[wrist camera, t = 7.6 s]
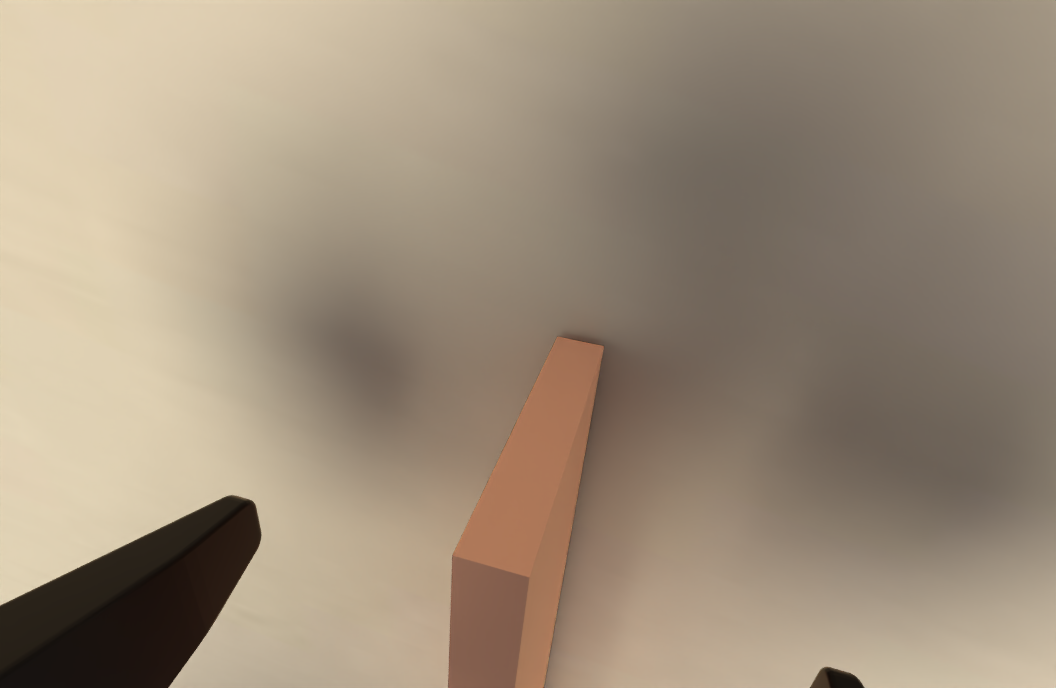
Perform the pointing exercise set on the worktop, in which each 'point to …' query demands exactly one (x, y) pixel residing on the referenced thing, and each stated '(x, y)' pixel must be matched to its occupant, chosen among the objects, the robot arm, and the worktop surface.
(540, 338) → the worktop surface
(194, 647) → the robot arm
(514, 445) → the salmon pink plank
